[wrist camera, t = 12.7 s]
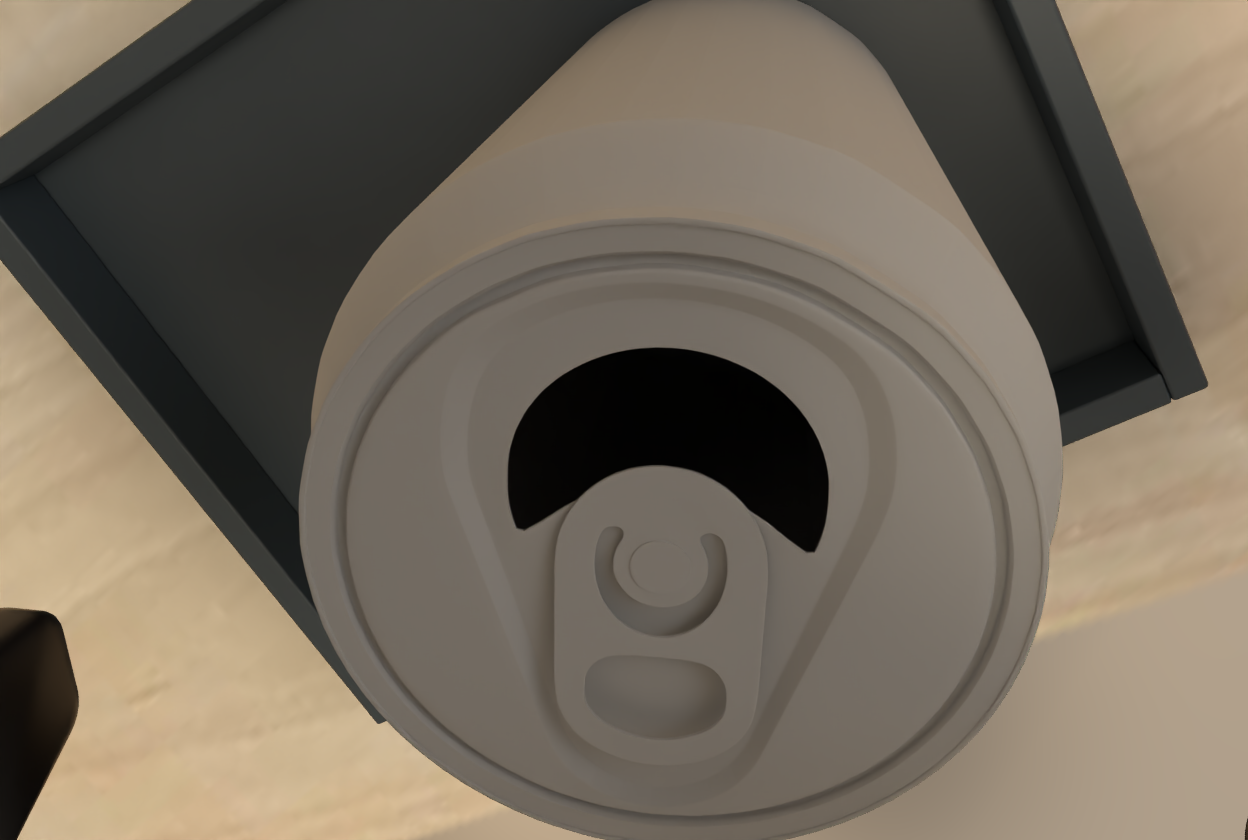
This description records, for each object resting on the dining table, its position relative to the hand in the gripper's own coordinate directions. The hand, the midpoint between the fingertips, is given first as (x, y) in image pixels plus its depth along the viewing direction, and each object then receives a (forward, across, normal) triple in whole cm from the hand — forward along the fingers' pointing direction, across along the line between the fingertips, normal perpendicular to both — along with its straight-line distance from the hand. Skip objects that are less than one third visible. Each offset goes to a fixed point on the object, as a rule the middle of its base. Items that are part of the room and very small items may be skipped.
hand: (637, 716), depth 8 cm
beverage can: (+13, 0, -1) cm, 13 cm away
